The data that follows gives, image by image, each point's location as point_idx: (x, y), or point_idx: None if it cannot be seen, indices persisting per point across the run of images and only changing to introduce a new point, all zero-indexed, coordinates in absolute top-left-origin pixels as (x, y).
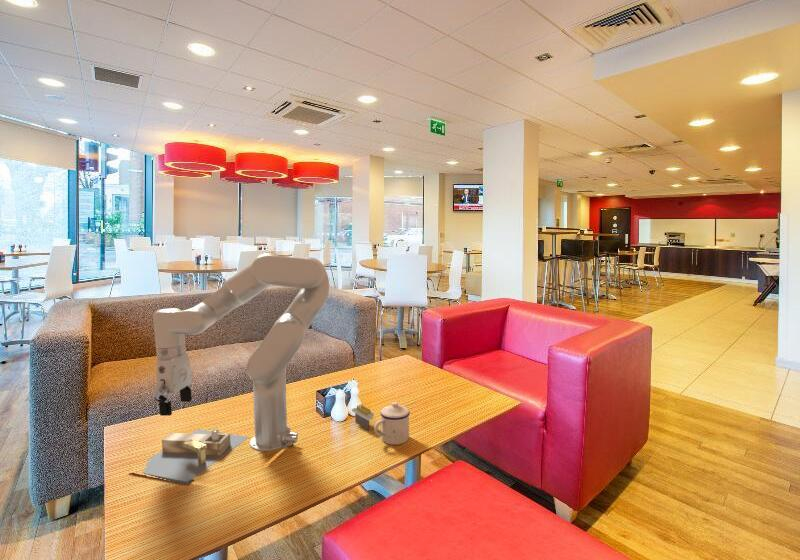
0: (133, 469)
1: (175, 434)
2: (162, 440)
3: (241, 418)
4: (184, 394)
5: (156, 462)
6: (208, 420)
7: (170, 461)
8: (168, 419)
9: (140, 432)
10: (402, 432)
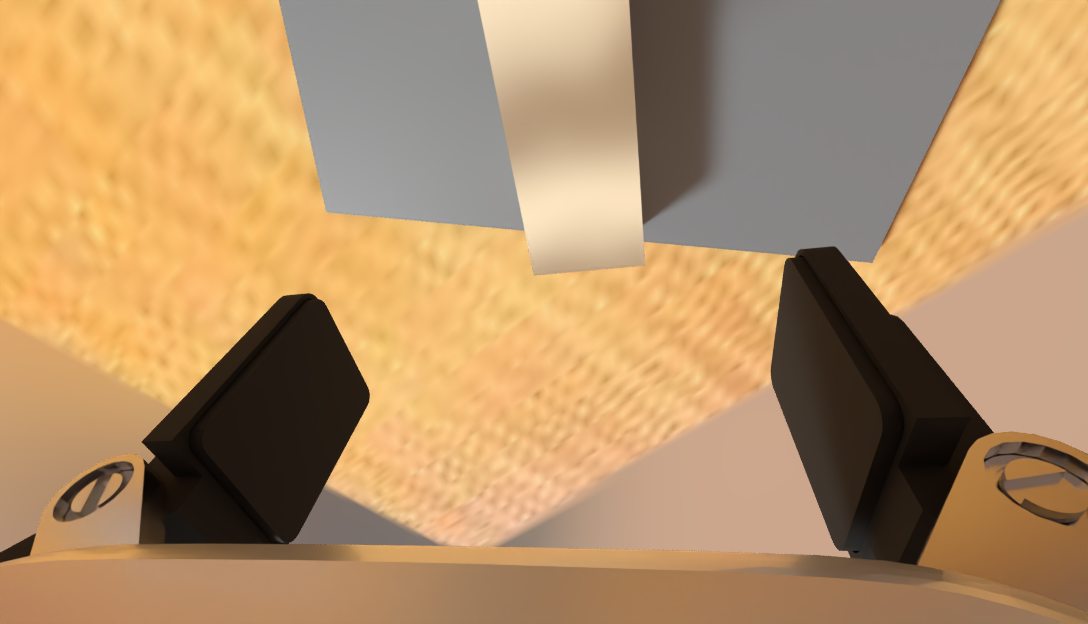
0: None
1: (546, 230)
2: (644, 259)
3: (19, 18)
4: (298, 431)
5: (780, 165)
6: (203, 242)
7: (768, 71)
8: None
9: (464, 456)
10: None
